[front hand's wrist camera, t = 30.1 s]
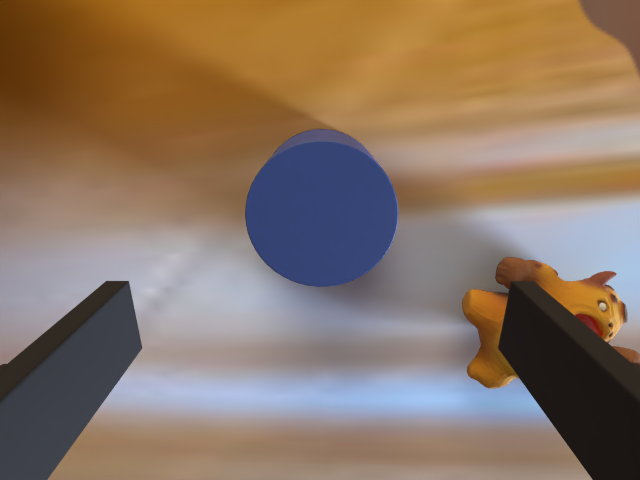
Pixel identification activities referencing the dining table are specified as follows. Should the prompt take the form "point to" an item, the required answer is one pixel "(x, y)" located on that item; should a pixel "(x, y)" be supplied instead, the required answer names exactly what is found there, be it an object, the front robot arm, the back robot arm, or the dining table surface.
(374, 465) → the dining table surface
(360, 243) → the blue cylinder
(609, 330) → the toy
